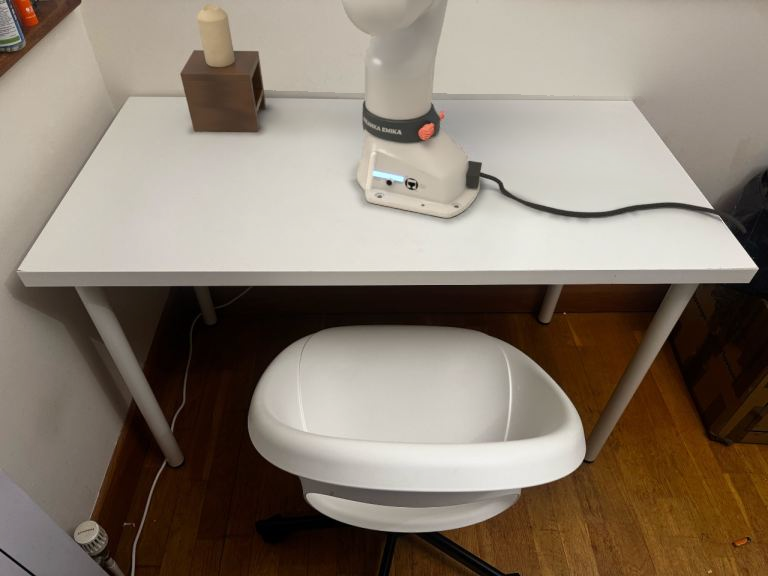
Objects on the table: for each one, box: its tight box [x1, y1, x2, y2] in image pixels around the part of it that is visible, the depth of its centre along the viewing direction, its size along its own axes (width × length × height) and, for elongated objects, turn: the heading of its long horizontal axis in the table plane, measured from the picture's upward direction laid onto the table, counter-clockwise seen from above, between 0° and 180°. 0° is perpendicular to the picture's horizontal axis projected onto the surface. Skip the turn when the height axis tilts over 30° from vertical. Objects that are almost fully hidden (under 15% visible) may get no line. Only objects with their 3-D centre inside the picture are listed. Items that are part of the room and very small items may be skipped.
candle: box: [196, 4, 235, 67], centre depth 106 cm, size 6×6×10 cm
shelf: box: [179, 49, 267, 133], centre depth 114 cm, size 13×11×12 cm
